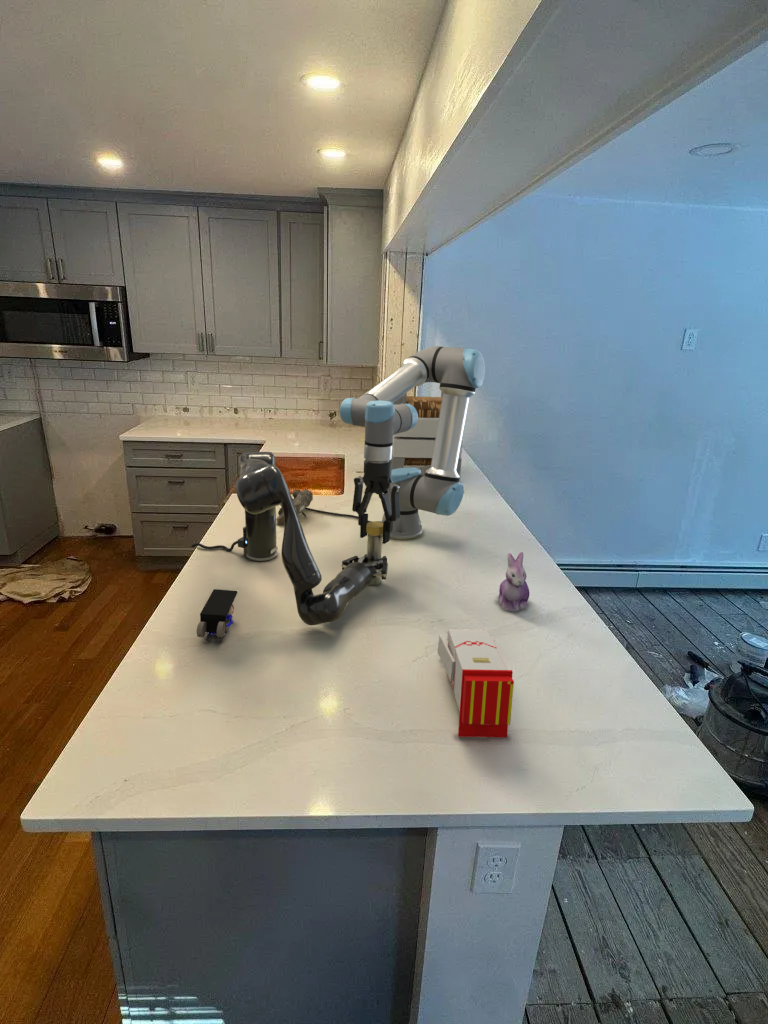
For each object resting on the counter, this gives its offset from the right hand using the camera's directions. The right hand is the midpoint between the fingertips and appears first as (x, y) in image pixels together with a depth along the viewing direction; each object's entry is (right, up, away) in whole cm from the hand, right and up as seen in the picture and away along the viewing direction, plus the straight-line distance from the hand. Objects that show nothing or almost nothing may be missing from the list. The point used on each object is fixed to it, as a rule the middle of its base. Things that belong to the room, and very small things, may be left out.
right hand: (374, 539), depth 160 cm
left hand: (+1, -6, +5) cm, 7 cm away
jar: (-1, -13, +4) cm, 13 cm away
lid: (0, +4, -1) cm, 4 cm away
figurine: (+38, -18, -5) cm, 42 cm away
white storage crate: (+20, +26, +115) cm, 120 cm away
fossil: (-30, +6, +52) cm, 61 cm away
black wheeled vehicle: (-37, -21, -23) cm, 48 cm away
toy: (+21, -30, -41) cm, 55 cm away
